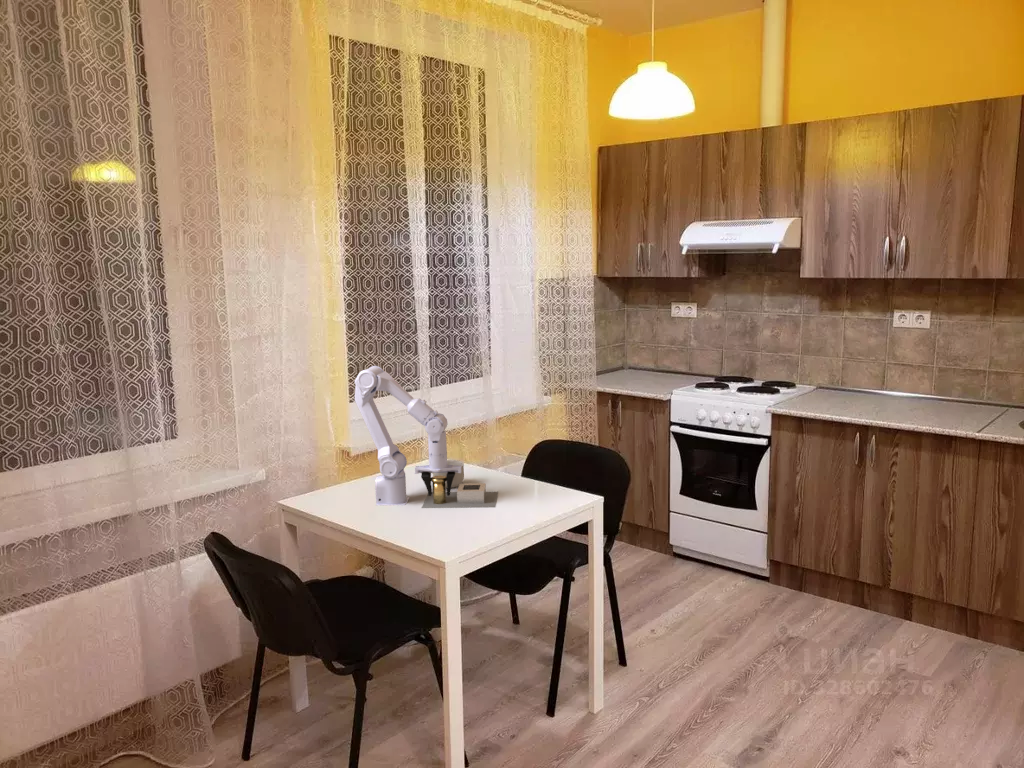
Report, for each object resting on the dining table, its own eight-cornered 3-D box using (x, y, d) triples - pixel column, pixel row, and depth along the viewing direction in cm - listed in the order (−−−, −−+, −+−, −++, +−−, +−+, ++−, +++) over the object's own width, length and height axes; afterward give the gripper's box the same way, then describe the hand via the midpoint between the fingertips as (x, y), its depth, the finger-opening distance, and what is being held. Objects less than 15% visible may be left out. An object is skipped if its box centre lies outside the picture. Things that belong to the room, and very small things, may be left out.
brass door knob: (430, 504, 240) (429, 480, 238) (433, 499, 244) (432, 475, 243) (446, 504, 239) (445, 480, 238) (448, 499, 244) (447, 475, 243)
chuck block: (457, 503, 240) (456, 491, 239) (460, 495, 248) (459, 483, 248) (484, 503, 240) (483, 491, 239) (486, 495, 248) (485, 483, 247)
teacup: (470, 486, 259) (470, 463, 258) (444, 493, 253) (443, 470, 251) (447, 478, 270) (446, 456, 269) (421, 484, 263) (420, 462, 262)
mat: (421, 509, 237) (421, 507, 237) (429, 493, 253) (428, 492, 252) (495, 508, 236) (495, 507, 236) (498, 492, 252) (498, 491, 251)
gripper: (412, 456, 236) (414, 499, 238) (459, 456, 235) (460, 498, 237) (416, 450, 243) (418, 492, 245) (461, 450, 242) (463, 491, 244)
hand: (439, 494), depth 241 cm, fingers open, 5 cm apart
